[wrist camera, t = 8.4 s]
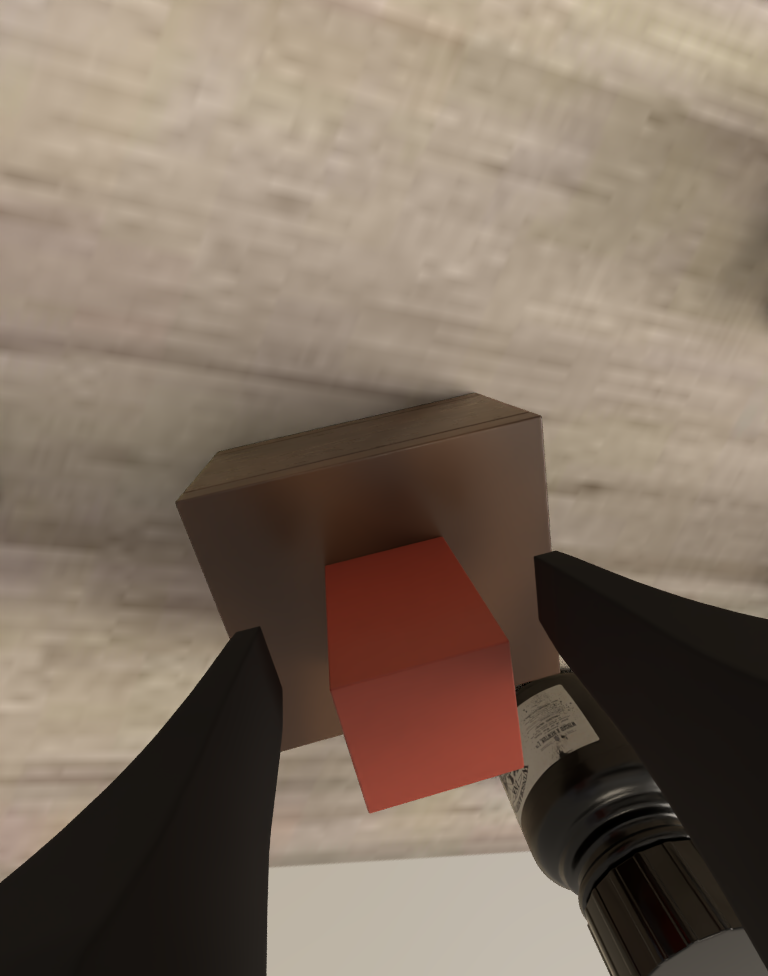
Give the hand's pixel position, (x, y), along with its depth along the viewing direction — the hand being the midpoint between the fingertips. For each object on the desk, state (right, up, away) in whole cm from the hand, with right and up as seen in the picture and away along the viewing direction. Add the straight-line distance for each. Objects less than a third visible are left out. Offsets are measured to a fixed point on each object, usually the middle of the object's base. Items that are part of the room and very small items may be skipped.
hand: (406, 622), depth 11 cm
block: (0, -1, +5) cm, 5 cm away
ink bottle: (+10, -12, +17) cm, 23 cm away
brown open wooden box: (-1, +1, +10) cm, 11 cm away
